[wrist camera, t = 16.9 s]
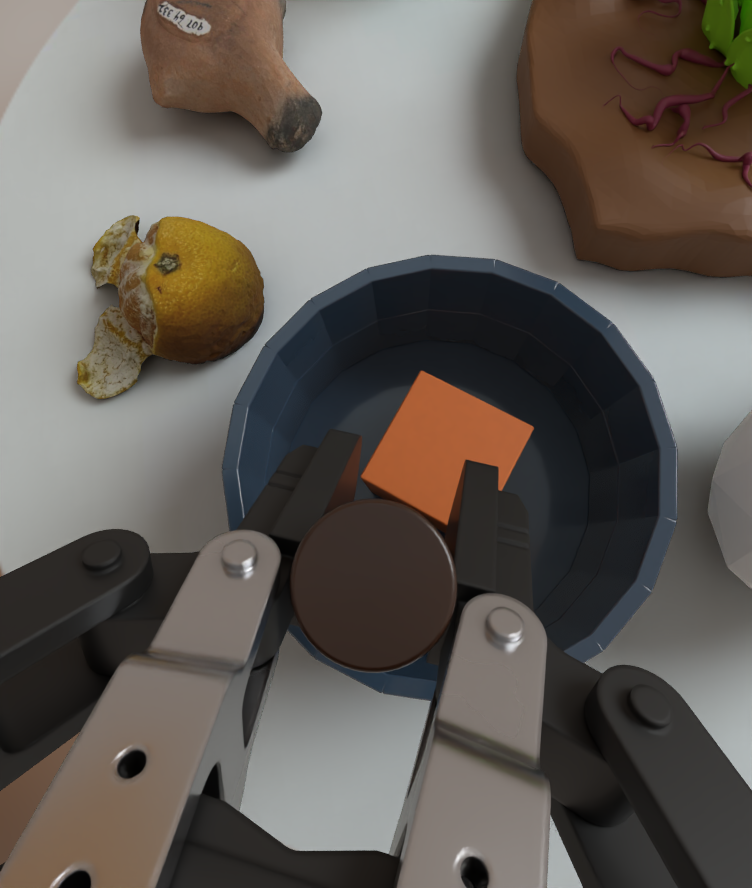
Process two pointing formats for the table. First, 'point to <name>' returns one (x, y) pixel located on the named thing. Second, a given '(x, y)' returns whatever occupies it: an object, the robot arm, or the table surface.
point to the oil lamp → (228, 65)
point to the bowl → (506, 388)
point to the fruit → (169, 299)
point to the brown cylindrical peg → (373, 585)
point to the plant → (644, 128)
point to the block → (441, 447)
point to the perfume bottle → (734, 501)
